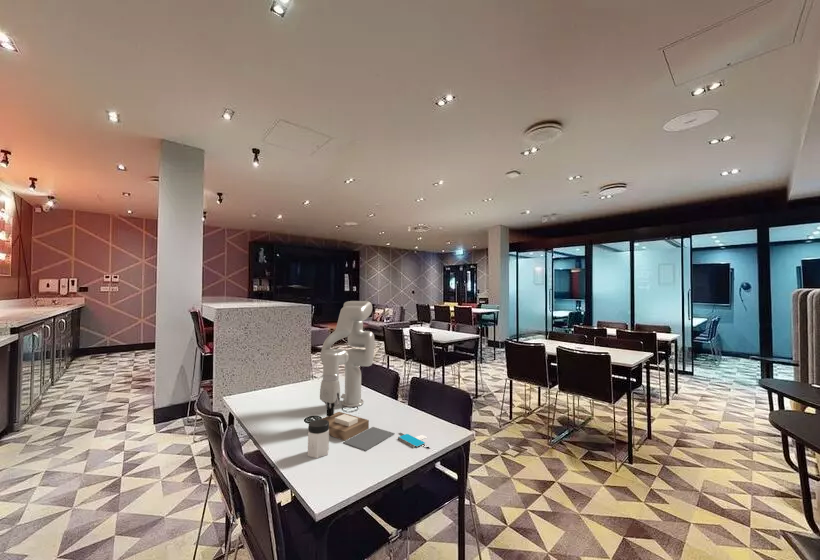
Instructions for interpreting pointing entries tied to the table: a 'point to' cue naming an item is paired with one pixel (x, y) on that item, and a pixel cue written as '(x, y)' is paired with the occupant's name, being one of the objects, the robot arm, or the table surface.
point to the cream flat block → (346, 420)
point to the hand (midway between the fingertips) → (330, 415)
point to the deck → (345, 427)
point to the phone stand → (412, 440)
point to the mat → (368, 438)
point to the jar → (318, 438)
